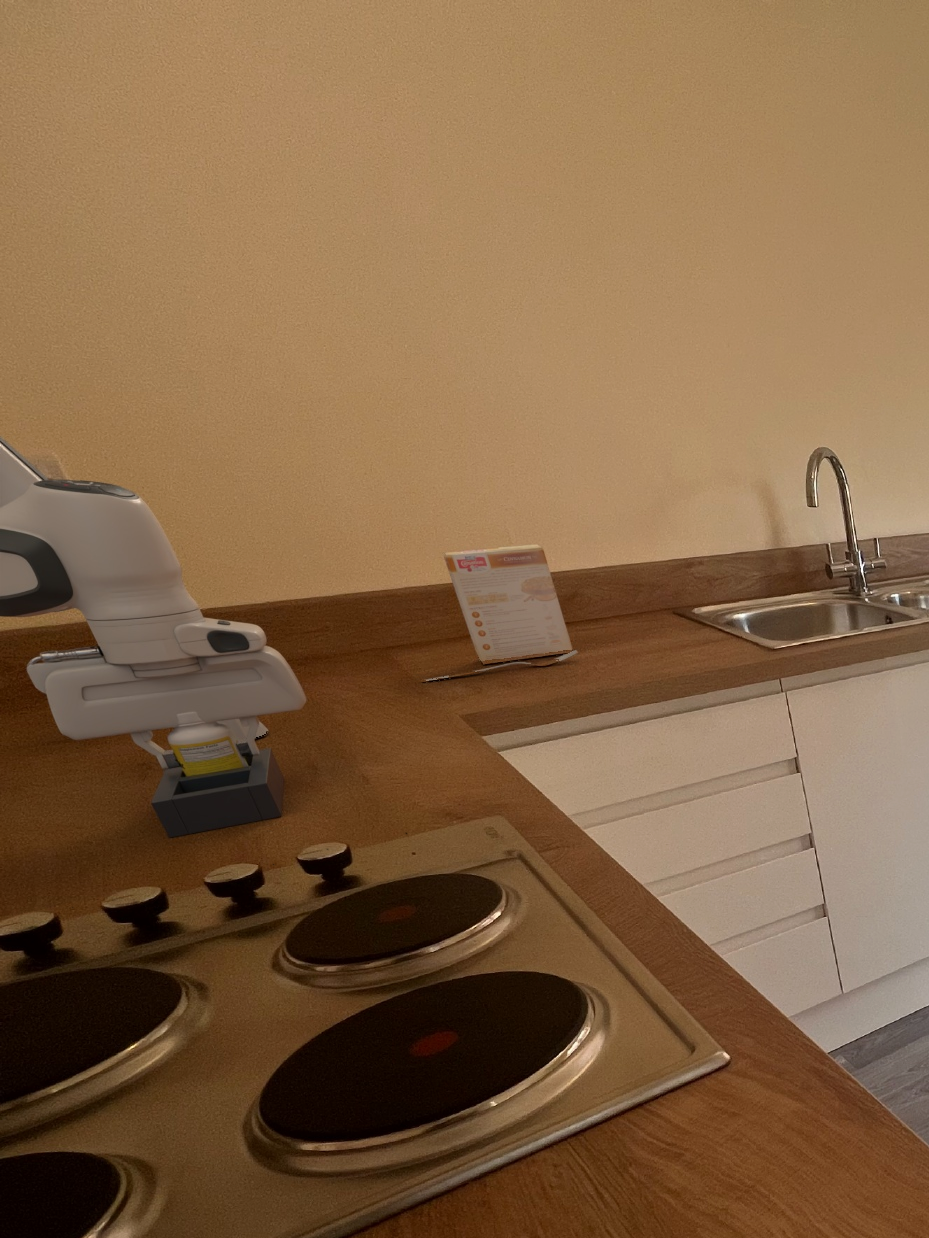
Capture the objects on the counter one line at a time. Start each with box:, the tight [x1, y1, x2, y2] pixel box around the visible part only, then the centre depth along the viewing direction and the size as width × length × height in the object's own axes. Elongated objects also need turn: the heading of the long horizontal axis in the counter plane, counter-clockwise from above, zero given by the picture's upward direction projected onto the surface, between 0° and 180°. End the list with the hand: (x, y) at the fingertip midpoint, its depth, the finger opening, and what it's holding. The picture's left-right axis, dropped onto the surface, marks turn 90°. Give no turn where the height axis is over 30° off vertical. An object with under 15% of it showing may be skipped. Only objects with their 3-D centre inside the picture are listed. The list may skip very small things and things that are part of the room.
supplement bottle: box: [166, 712, 248, 777], centre depth 109 cm, size 5×5×10 cm
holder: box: [150, 747, 285, 839], centre depth 108 cm, size 9×17×4 cm, turn 40°
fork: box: [425, 649, 579, 681], centre depth 169 cm, size 3×24×2 cm, turn 131°
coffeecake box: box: [442, 543, 574, 661], centre depth 176 cm, size 15×7×20 cm, turn 130°
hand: (213, 761), depth 110 cm, fingers closed on supplement bottle, 5 cm apart
